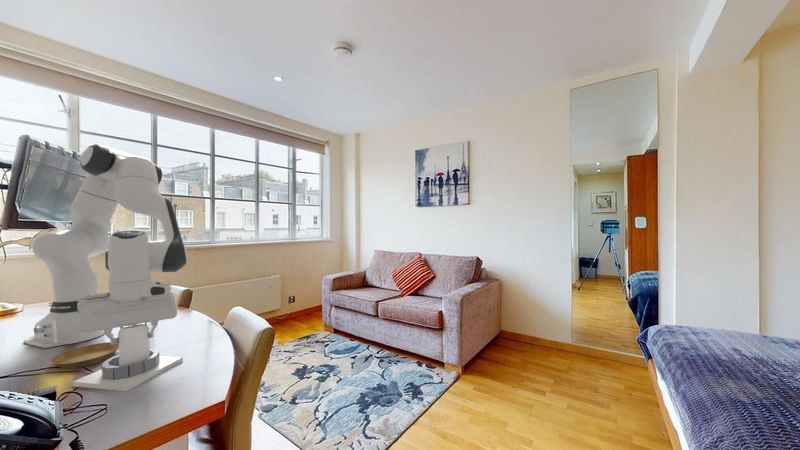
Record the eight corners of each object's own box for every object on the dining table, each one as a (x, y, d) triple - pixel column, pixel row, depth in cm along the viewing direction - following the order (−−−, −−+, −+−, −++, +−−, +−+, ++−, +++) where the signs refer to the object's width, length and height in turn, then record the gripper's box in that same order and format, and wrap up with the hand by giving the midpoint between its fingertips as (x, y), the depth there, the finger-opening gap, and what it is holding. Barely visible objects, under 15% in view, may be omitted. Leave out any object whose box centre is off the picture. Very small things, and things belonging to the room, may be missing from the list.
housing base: (73, 386, 78) (72, 369, 78) (136, 358, 94) (136, 344, 94) (126, 391, 75) (125, 374, 75) (182, 361, 91) (182, 347, 91)
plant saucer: (63, 377, 83) (63, 367, 83) (41, 366, 90) (41, 357, 89) (130, 355, 97) (130, 346, 96) (107, 347, 103) (106, 339, 103)
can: (130, 374, 81) (129, 329, 81) (113, 371, 83) (111, 327, 83) (156, 363, 88) (154, 321, 87) (138, 360, 89) (137, 319, 89)
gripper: (73, 299, 76) (75, 354, 76) (176, 287, 88) (178, 335, 88) (80, 294, 81) (82, 346, 81) (176, 283, 93) (178, 329, 93)
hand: (132, 340), depth 85 cm, fingers open, 6 cm apart
